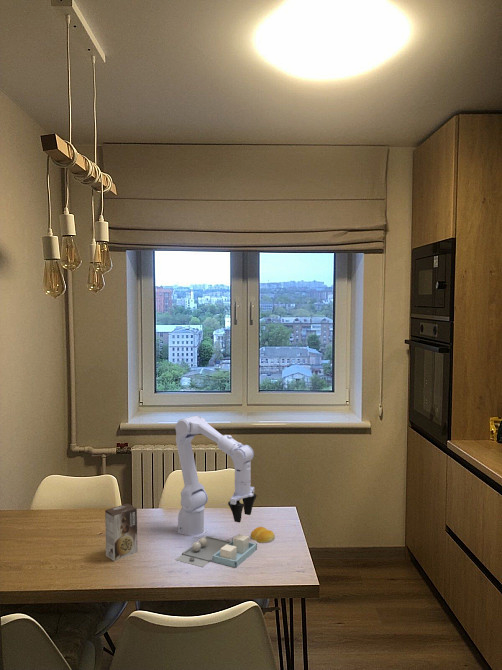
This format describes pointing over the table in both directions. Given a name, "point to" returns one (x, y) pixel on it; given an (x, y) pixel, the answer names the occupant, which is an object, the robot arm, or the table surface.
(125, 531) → the coffee box
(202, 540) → the pebble
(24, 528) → the table surface
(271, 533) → the bread roll
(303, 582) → the table surface
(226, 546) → the stone block near
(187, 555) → the slate tray
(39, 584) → the table surface
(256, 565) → the table surface
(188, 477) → the robot arm
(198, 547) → the pebble
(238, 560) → the blue bin
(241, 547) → the stone block far
